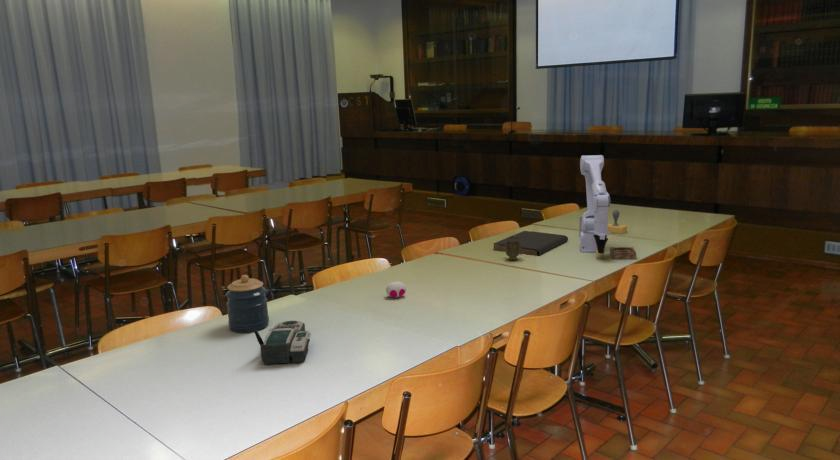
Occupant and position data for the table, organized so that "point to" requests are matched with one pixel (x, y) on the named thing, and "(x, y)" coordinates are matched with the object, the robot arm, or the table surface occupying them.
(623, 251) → the box
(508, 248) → the cup
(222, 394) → the table surface
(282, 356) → the communication device
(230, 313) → the canister
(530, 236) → the file folder
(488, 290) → the table surface
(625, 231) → the rubber stamp
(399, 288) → the stress ball
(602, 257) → the peg
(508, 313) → the table surface
